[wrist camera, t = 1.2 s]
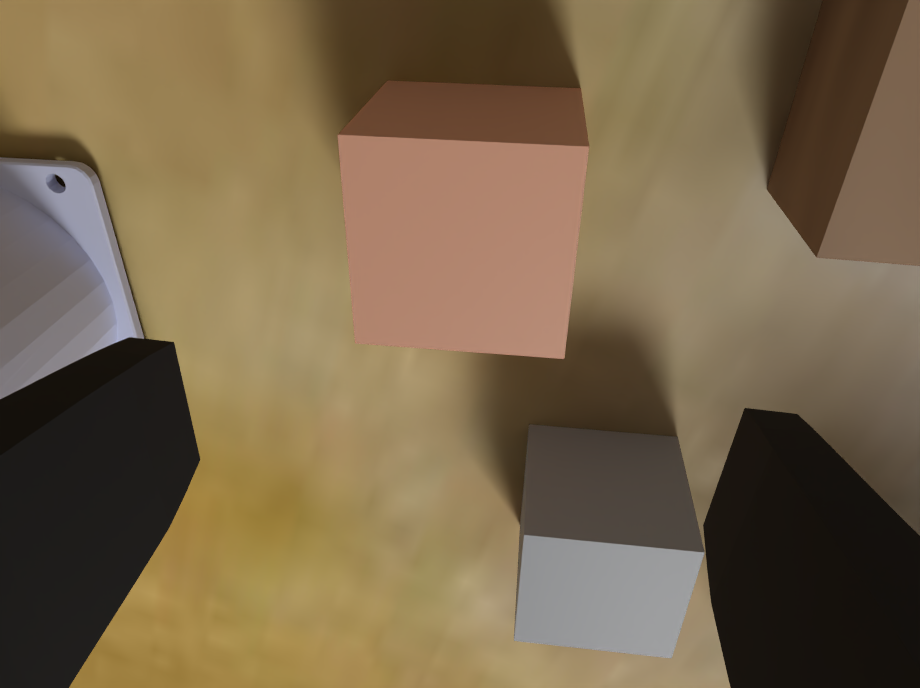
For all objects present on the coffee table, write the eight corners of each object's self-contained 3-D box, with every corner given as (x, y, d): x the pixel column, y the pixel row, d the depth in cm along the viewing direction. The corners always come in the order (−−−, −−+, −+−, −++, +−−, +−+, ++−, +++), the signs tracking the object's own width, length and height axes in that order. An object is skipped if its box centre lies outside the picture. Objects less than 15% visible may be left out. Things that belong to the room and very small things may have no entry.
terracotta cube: (395, 253, 19) (355, 343, 15) (387, 79, 16) (337, 134, 12) (562, 264, 18) (564, 358, 14) (580, 87, 16) (589, 146, 12)
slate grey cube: (520, 523, 24) (513, 640, 20) (529, 422, 21) (523, 535, 17) (652, 536, 23) (671, 658, 20) (677, 434, 21) (704, 552, 17)
